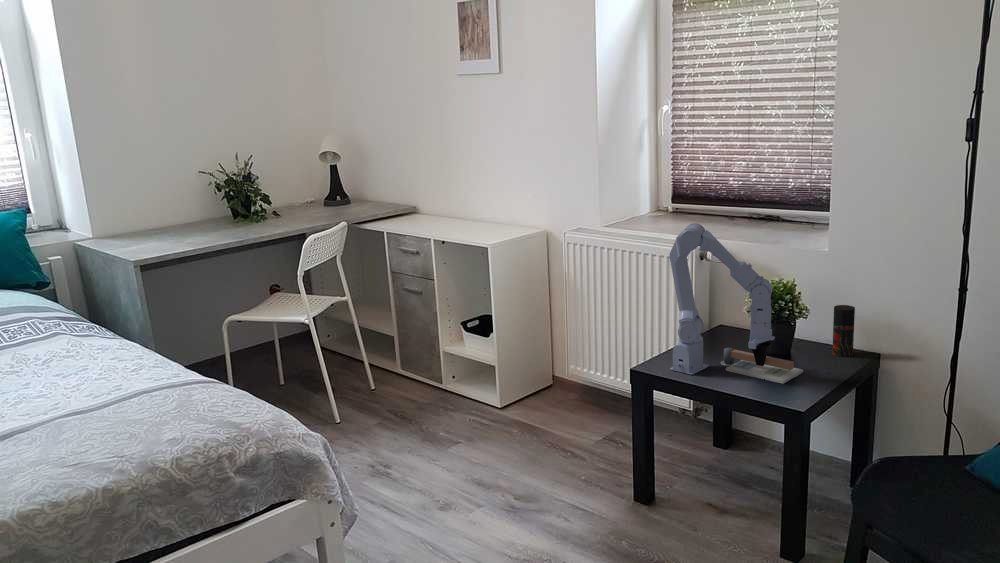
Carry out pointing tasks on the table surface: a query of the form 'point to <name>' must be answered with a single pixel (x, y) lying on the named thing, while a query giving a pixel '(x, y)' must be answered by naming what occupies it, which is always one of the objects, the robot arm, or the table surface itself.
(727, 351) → the swing bar
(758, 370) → the label panel
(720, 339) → the table surface
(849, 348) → the deodorant
